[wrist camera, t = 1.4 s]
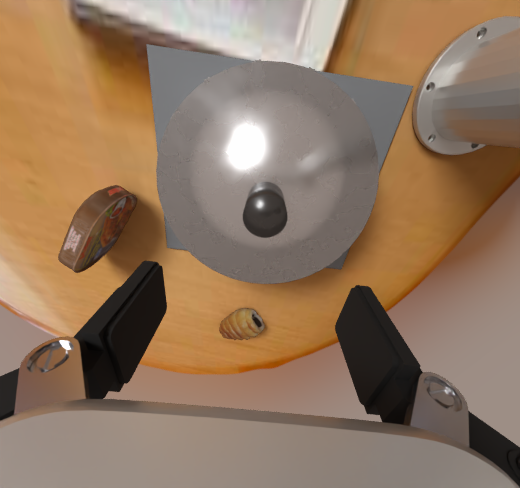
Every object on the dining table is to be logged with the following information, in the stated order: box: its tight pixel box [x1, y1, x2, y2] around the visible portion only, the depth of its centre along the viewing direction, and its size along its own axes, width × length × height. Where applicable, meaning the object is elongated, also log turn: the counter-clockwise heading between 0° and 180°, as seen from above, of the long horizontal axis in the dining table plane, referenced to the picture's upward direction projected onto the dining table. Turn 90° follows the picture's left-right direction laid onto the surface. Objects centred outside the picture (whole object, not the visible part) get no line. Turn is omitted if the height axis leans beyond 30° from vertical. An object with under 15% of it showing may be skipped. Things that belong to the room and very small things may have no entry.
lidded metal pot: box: [156, 59, 379, 284], centre depth 25 cm, size 24×24×13 cm
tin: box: [58, 185, 137, 273], centre depth 31 cm, size 15×3×8 cm, turn 140°
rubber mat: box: [147, 44, 413, 269], centre depth 30 cm, size 30×26×1 cm
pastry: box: [219, 308, 265, 340], centre depth 44 cm, size 9×7×4 cm
